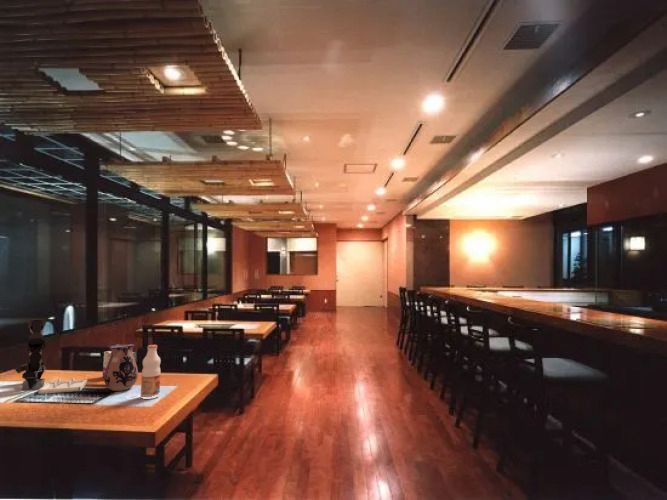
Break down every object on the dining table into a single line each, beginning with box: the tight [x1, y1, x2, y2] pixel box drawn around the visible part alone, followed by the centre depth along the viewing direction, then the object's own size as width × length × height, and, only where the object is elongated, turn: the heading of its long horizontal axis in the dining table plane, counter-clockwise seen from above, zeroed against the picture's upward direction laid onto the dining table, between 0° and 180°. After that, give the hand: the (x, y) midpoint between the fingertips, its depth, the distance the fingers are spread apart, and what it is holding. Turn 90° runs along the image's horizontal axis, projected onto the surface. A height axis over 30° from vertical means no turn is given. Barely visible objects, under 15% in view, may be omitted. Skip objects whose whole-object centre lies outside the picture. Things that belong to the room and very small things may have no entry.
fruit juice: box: [140, 344, 162, 398], centre depth 219 cm, size 9×9×28 cm
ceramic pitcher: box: [103, 343, 139, 392], centre depth 234 cm, size 18×21×25 cm
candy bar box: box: [102, 350, 111, 378], centre depth 257 cm, size 11×5×16 cm, turn 68°
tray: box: [37, 377, 88, 395], centre depth 231 cm, size 17×20×4 cm
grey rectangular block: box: [21, 378, 45, 391], centre depth 230 cm, size 5×9×5 cm, turn 109°
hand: (33, 386), depth 230 cm, fingers open, 9 cm apart
